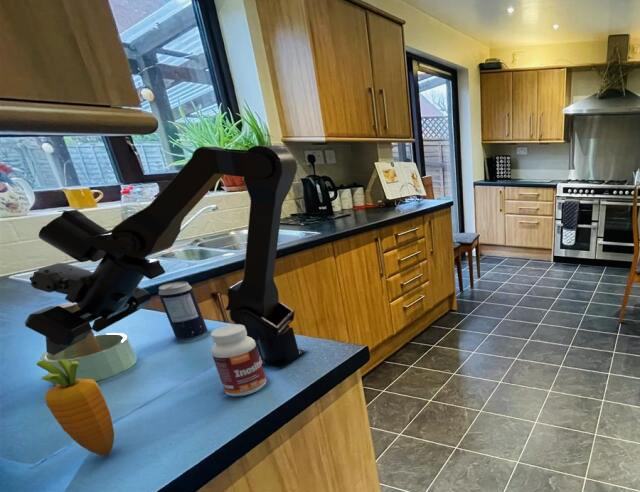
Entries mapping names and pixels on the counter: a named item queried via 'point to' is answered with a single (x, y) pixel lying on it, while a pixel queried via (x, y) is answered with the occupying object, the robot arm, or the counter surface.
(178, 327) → the dark blue jar
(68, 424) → the carrot
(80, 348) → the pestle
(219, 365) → the pill bottle
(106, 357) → the bowl
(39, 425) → the counter surface
